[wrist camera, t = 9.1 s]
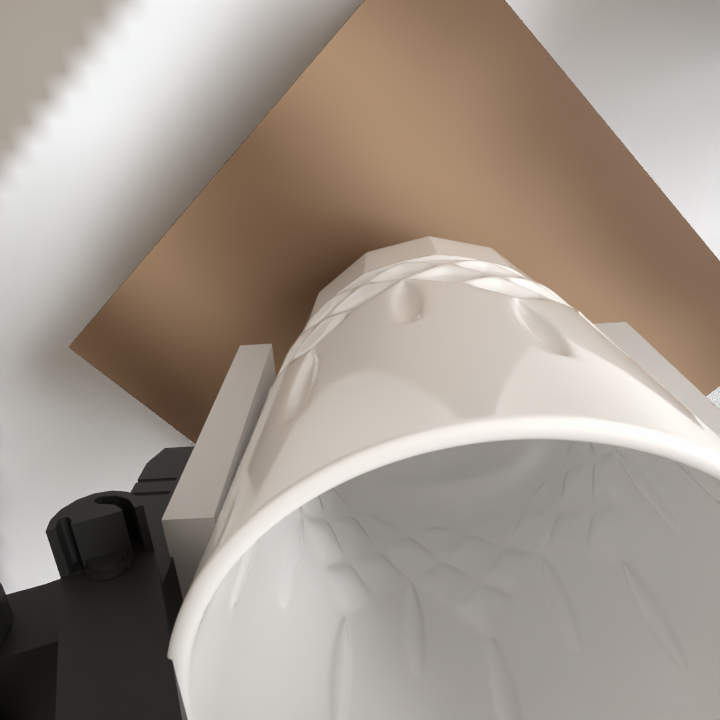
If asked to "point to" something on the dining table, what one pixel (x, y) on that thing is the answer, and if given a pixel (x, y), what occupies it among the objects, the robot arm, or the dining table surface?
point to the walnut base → (408, 205)
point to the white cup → (459, 517)
